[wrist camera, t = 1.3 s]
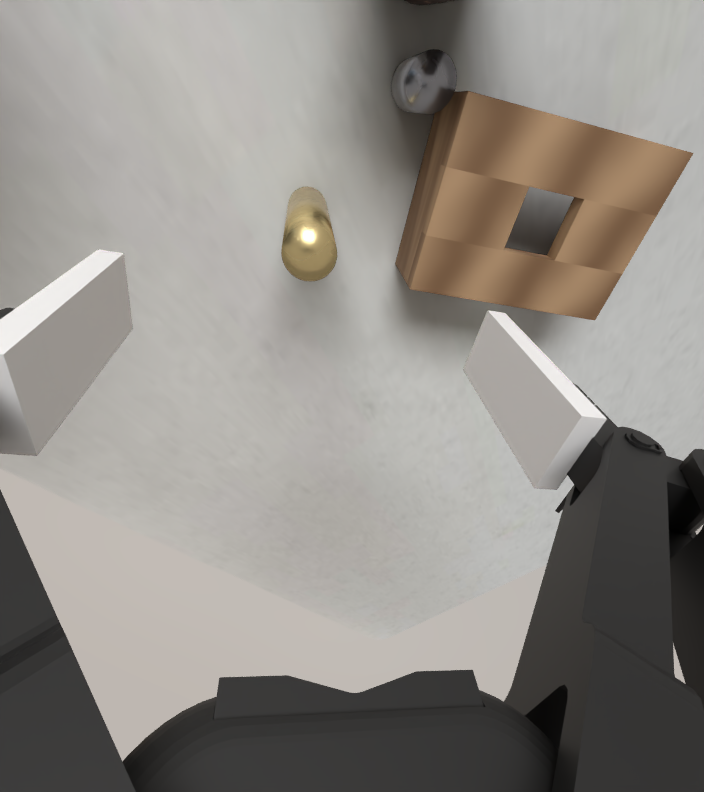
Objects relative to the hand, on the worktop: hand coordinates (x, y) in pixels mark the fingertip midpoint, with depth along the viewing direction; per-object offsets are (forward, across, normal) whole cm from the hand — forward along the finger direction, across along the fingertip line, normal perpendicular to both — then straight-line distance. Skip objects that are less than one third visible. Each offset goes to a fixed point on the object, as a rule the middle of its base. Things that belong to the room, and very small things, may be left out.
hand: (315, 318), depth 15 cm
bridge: (+20, +16, +3) cm, 26 cm away
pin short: (+20, +6, +9) cm, 23 cm away
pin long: (+20, 0, 0) cm, 21 cm away
